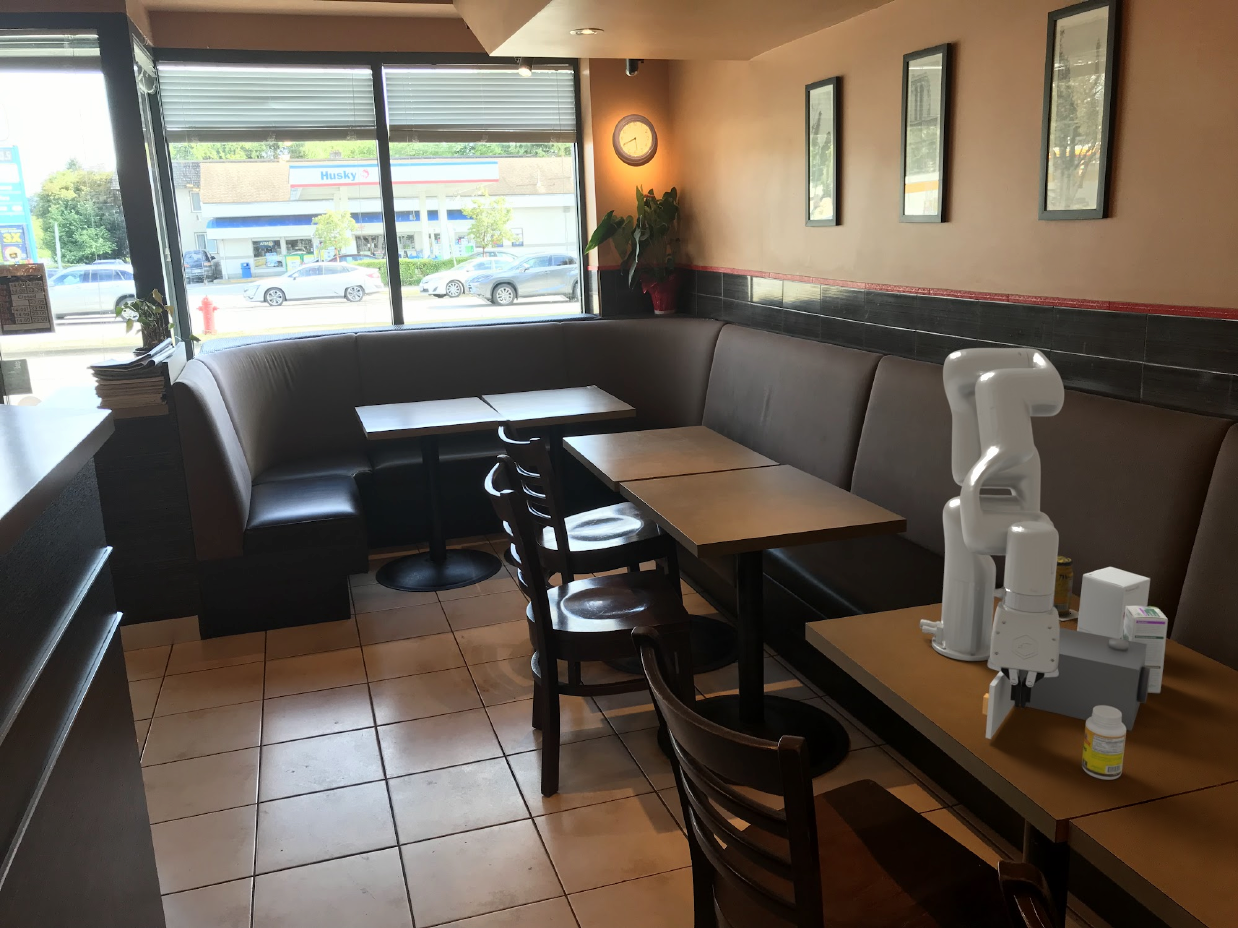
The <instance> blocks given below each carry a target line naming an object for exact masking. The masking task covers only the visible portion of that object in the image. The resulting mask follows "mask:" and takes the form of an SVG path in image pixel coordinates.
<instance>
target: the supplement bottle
mask: <svg viewBox="0 0 1238 928" xmlns="http://www.w3.org/2000/svg"><path fill="white" fill-rule="evenodd" d="M1121 718H1122V713H1121V712H1120V711H1119V710H1118V709H1116V708H1114V707H1110V706H1105V705H1099V706H1095V707H1094V708H1093V713H1092V717H1089V718H1088V719H1087V720H1085V727H1084V735H1083V738H1084V739H1083V745H1082V746H1083V748H1082V758H1081V767H1082V769H1083V771H1084V772H1085V773H1086V774H1088V775H1089V776H1091V777H1093V778H1096V779H1101V780H1107V781H1108V780H1110V781H1111V780H1115V779H1118V778H1119V777H1121V775H1122V773H1123V762H1124V754H1125V744H1126V737H1127V736H1126V735H1127V730H1126V727H1125V725H1124V724H1123V723H1122V722H1121V721H1122V719H1121Z"/></svg>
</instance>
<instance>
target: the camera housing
mask: <svg viewBox="0 0 1238 928" xmlns="http://www.w3.org/2000/svg"><path fill="white" fill-rule="evenodd" d="M1146 648H1147V644H1144V643H1138V642H1133V641H1128V640H1123V639H1117V638H1112V637H1107V636H1101V635H1096V634H1091V633H1086V632H1080V631H1077V630H1073V629H1070V628H1064V627H1060V642H1059V661H1058V671H1059V675H1058V676H1056V677H1043V678H1042V679H1040V680H1039V681H1038V682H1036V683H1035V684H1034V685H1033V686H1032V687H1031V698H1030V703H1027V702H1026V705H1025V707H1029V708H1032V709H1037V710H1041V711H1045V712H1048V713H1049V712H1050V713H1053V714H1054V713H1055V714H1057V715H1062V716H1067V717H1071V718H1075V719H1079V720H1084V721H1086V720H1087V719H1088V718H1089V717H1092V713H1093V708H1094V707H1095V706H1099V705H1105V706H1110V707H1114V708H1116V709H1118V710H1119V711H1120V712H1121V713H1122V718H1121V719H1122V721H1121V722H1122V723H1123V724H1124V725H1125V727H1126V731H1130V732H1132V731H1133V727H1134V724H1135V720H1136V717H1137V714H1138V711H1139V708H1140V705H1141V703H1143V704H1147V703H1146V701H1147V699H1148V694H1149V693H1148V688H1149V680H1150V668H1148V667H1144V665H1145V657H1146ZM1026 673H1027V671H1024V670H1019V677H1020V680H1021V686H1022V680H1023V679H1024V677H1025V676H1026ZM1020 699H1021V695H1020Z"/></svg>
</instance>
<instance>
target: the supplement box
mask: <svg viewBox="0 0 1238 928" xmlns="http://www.w3.org/2000/svg"><path fill="white" fill-rule="evenodd" d="M1081 581H1082V584H1081V592H1080V600H1079V610H1078V612H1079V617H1077V629H1076V631H1080V632H1086V633H1091V634H1096V635H1101V636H1107V637H1112V638H1117V639H1123V628H1124V617H1125V608H1126V606H1148V602H1149V601H1148V599H1149V593H1150V592H1149V591H1150V585H1151V577H1146V576H1143V575H1139V574H1136V573H1133V572H1129V571H1126V570H1122V569H1120V568H1116V567H1113V566H1108V567H1104V568H1101V569H1097V570H1094V571H1091V572H1087V573H1083V575H1082V580H1081Z"/></svg>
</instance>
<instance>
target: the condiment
mask: <svg viewBox="0 0 1238 928" xmlns="http://www.w3.org/2000/svg"><path fill="white" fill-rule="evenodd" d="M1073 564H1074V563H1073V560H1072V559H1071V558H1069V557H1068V556H1062V555H1057V566H1056V578H1055V590H1054V603H1053V607H1055V608H1056V609H1057V611H1058V616H1059V621H1068V620H1073V619H1078V617H1079V611H1076V610H1074V609H1071V604H1072V603H1071V601H1072V592H1073V581H1074V573H1073ZM1069 611H1071V612H1069ZM1070 613H1071V614H1070Z"/></svg>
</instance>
